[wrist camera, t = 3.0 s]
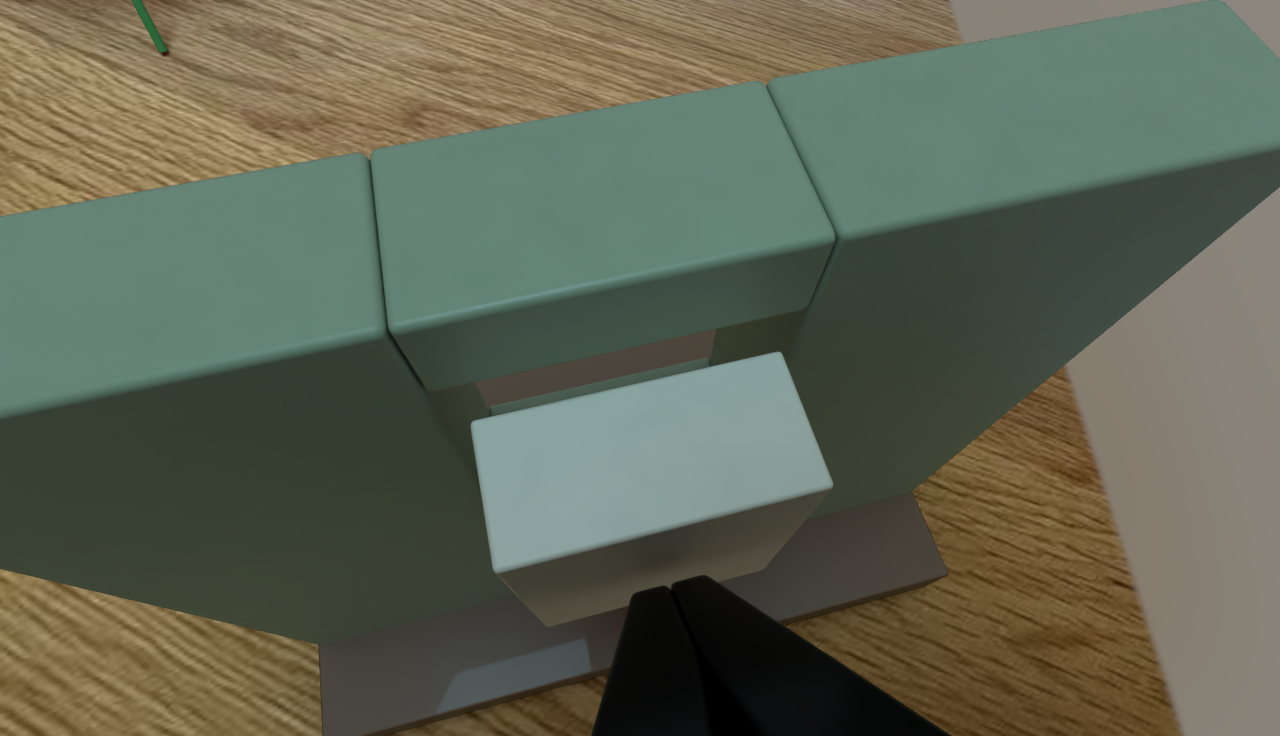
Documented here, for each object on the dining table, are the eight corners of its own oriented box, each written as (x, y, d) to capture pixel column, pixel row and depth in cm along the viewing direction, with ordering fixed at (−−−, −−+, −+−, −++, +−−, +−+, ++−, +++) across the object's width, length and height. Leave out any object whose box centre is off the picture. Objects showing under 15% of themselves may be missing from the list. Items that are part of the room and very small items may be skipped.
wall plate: (925, 586, 17) (1529, 306, 6) (348, 745, 16) (-497, 822, 4) (810, 316, 21) (1035, -200, 9) (330, 423, 19) (-147, -40, 7)
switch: (764, 569, 10) (837, 486, 6) (546, 628, 10) (492, 573, 6) (732, 472, 11) (782, 348, 7) (526, 523, 10) (468, 418, 7)
